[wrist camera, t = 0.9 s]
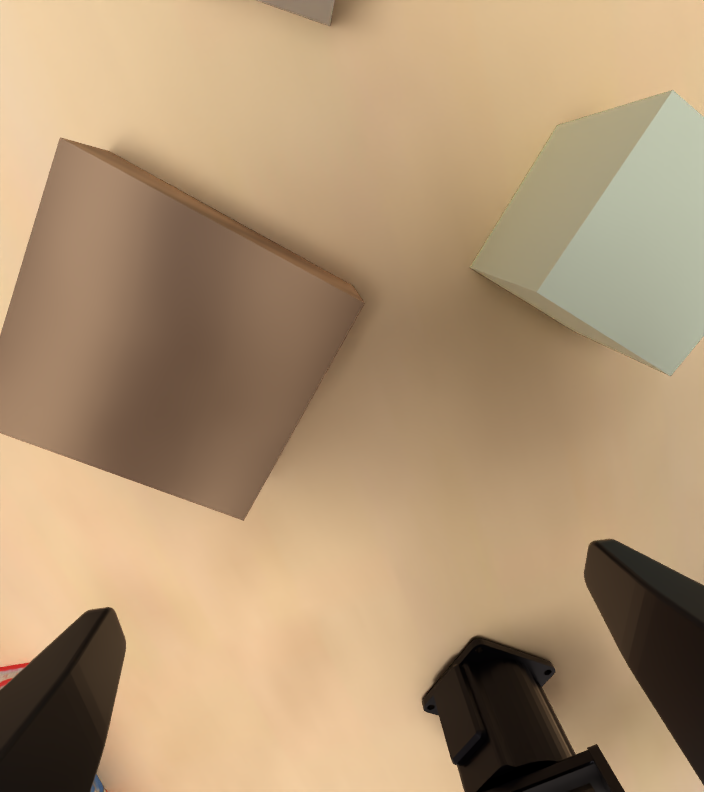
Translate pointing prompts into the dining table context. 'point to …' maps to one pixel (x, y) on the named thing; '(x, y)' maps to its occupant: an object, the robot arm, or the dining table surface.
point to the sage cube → (613, 230)
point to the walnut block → (162, 334)
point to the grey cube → (306, 8)
